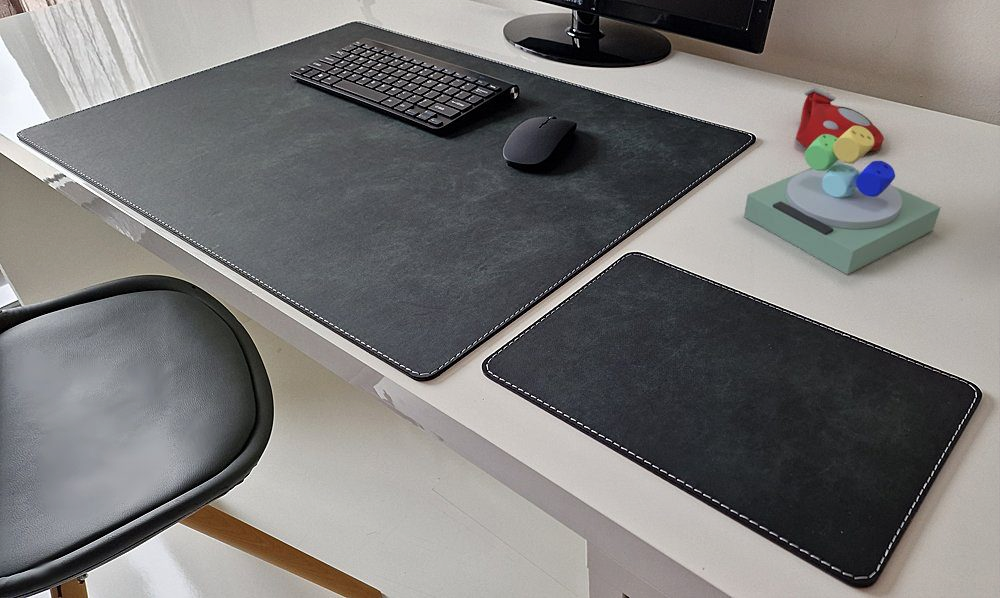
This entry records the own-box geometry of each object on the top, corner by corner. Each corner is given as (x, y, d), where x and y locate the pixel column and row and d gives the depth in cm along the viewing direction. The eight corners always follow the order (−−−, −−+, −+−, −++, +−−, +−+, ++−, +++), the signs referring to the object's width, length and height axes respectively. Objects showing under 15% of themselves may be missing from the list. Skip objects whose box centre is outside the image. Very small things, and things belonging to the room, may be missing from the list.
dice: (890, 201, 71) (909, 136, 68) (877, 212, 70) (895, 146, 66) (809, 173, 76) (822, 111, 72) (795, 183, 75) (807, 120, 71)
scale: (827, 180, 82) (833, 151, 80) (933, 230, 73) (943, 199, 71) (743, 216, 77) (748, 187, 75) (847, 274, 68) (855, 243, 67)
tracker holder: (905, 132, 87) (857, 138, 81) (881, 166, 89) (833, 174, 84) (821, 76, 93) (771, 78, 87) (802, 109, 96) (752, 113, 90)
